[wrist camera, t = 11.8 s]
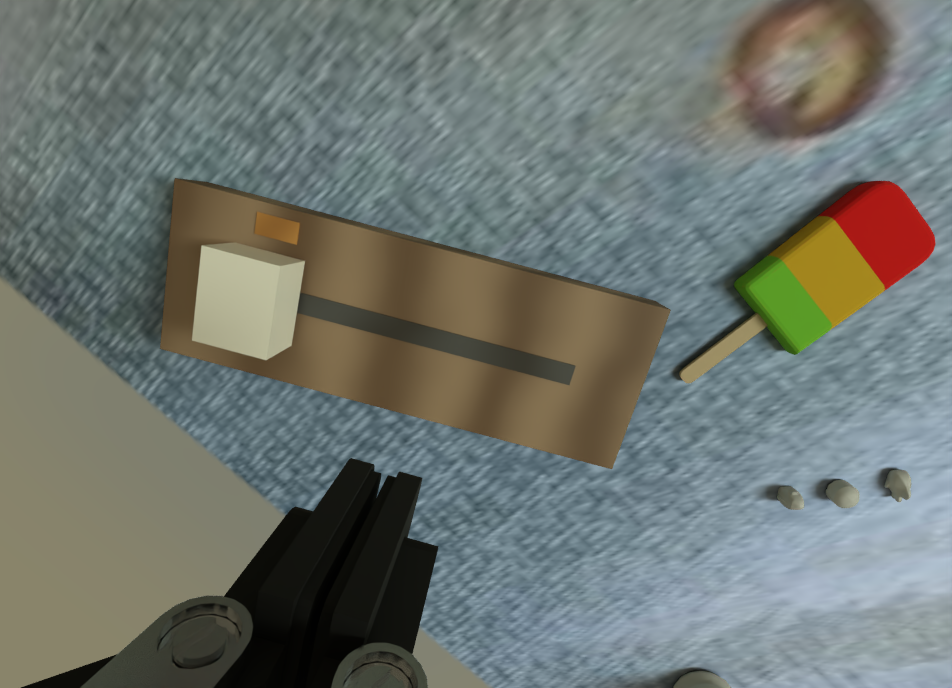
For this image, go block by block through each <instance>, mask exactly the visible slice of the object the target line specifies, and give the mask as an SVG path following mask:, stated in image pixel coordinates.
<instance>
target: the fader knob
mask: <svg viewBox="0 0 952 688" xmlns="http://www.w3.org/2000/svg"><path fill="white" fill-rule="evenodd" d="M304 265H305V261H303V260H299V259H296V258H292V257H288V256H284V255H281V254H277V253H273V252H269V251H266V250H262V249H258V248H254V247H250V246H247V245H243V244H239V243H235V242H234V243H223V244H211V245H202V247H201V256H200V266H199V276H198V286H197V295H196V305H195V315H194V324H193V334H192V341H196V342H200V343H203V344H207V345H211V346H215V347H218V348H222V349H226V350H230V351H233V352H237V353H241V354H245V355H248V356H252V357H256V358H260V359H263V360H268V359H269V358H271V357H273V356H275V355H276V354H278V353H280V352H281V351H283V350H285V349H287V348H288V347H290V346H292V340H293V333H294V327H295V321H296V315H297V308H298V302H299V296H300V290H301V283H302V277H303V271H304Z"/></svg>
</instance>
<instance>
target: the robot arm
mask: <svg viewBox="0 0 952 688" xmlns="http://www.w3.org/2000/svg"><path fill="white" fill-rule="evenodd" d="M380 480H381V473H378V472H374V464H370V463H367V462H363V461H360V460H356V459H352V458H350V459H349V460H348V462H347V463H346V465H345V466H344V468H343V469H342V470H341V472H340V473H339V475H338V476H337V478H336V479H335V481H334V482H333V484H332V485H331V486H330V488H329V489H328V491H327V492H326V494H325V495H324V497H323V498H322V500H321V501H320V502H319V504H318V505H317V507H316V508H315V510H314V511H309V510H306V509H302V508H299V507H294V508H292V509H291V510H290V511H289V512H288V514H287V515H286V516H285V517H284V519H283V520H282V522H281V523H280V524H279V525H278V527H277V528H276V529H275V531H274V532H273V533H272V534H271V536H270V537H269V538H268V540H267V541H266V542H265V544H264V545H263V546H262V548H261V549H260V550H259V551H258V553H257V554H256V556H255V557H254V558H253V559H252V560H251V562H250V563H249V564H248V566H247V567H246V568H245V570H244V571H243V572H242V574H241V575H240V576H239V577H238V579H237V580H236V581H235V583H234V584H233V585H232V587H231V588H230V589H229V590H228V592H227V593H226V594H225V596H224V597H223V596H203V597H198V598H193V599H189V600H187V601H185V602H182V603H180V604H178V605H176V606H174V607H172V608H171V609H170V610H168V611H167V612H165V613H164V614H163V615H161V616H160V617H159V618H158V619H157V620H156V621H154V622H153V623H152V624H151V625H150V626H149V627H148V628H147V629H146V630H145V631H143V632H142V633H141V634H140V635H139V636H138V637H137V638H135V639H134V640H133V641H132V642H131V643H130V644H129V645H127V647H125V648H124V649H123V650H122V651H121V652H120V653H119V654H117V655H114V656H111V657H108V658H105V659H102V660H99V661H97V662H94V663H91V664H88V665H85V666H82V667H79V668H76V669H73V670H70V671H68V672H65V673H62V674H59V675H56V676H53V677H50V678H48V679H44V680H42V681H39V682H36V683H33V684H30V685H27V686H24V687H21V688H428V685H427V677H426V675H425V672H424V670H423V668H422V666H421V664H420V663H419V662H418V661H417V659H416V658H415V657H414V656H413V655H412V653H413V649H414V645H415V641H416V636H417V633H418V629H419V625H420V621H421V616H422V612H423V608H424V604H425V600H426V596H427V592H428V588H429V584H430V580H431V575H432V571H433V567H434V563H435V559H436V555H437V551H438V546H435V545H431V544H428V543H424V542H420V541H417V540H413V539H410V538H407V537H408V534H409V530H410V526H411V522H412V518H413V514H414V510H415V506H416V502H417V498H418V494H419V490H420V487H421V482H422V478H421V477H417V476H414V475H410V474H406V473H403V472H399V473H398V475H397V477H392V476H389V475H388V476H387V478H386V480H385V482H384V484H383V486H382V488H381V490H380V492H379V494H378V496H377V493H378V488H379V484H380ZM376 497H377V498H376Z"/></svg>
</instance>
